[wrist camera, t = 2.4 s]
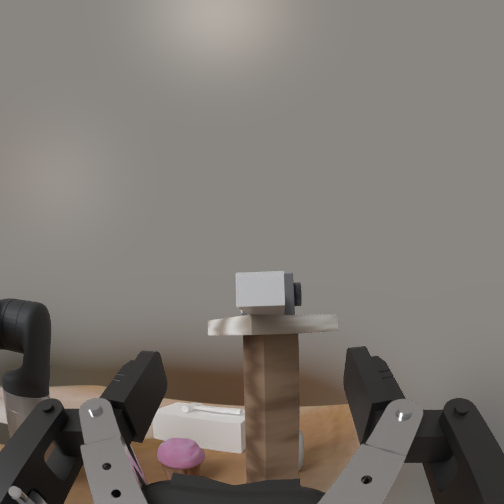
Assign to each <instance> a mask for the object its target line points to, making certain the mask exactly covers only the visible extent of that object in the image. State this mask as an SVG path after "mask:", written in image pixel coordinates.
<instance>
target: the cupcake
mask: <svg viewBox="0 0 504 504" xmlns="http://www.w3.org/2000/svg"><path fill="white" fill-rule="evenodd" d="M157 457H158V461H159V462H161V463H162V466H163V468H164V471H165V473H166V475H167V476H168V478H169V480H171V477H172V474H173V473H179V474H186V475H193V476H199V474H200V464H201V463H202V462H203V461H204V459H205V454H204V451H203V449H201V448H200V447H199V445H198V444H197V443H196V442H195V441H194V440H191V439H188V438H170V439H168V440H166V441H164V442H163V443H162V444H161V445H160V446H159V448H158V451H157Z"/></svg>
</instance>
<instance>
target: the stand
mask: <svg viewBox="0 0 504 504" xmlns="http://www.w3.org/2000/svg"><path fill="white" fill-rule="evenodd" d="M328 331H338V319H337V315H245V316H238V317H232V318H224V319H216V320H208V335H243V346H244V347H243V349H244V393H245V395H244V398H245V439H246V473H247V483H253V482H259V481H264V480H281V479H298V471H299V346H298V345H299V344H298V334H299V333H314V332H328Z"/></svg>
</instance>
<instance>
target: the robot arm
mask: <svg viewBox="0 0 504 504" xmlns="http://www.w3.org/2000/svg"><path fill="white" fill-rule="evenodd" d="M50 343H51V320H50V315H49V312H48V309H47V308H46V306H45V305H43V304H42V303H38V302H32V301H25V300H18V299H3V300H0V349H4V350H10V351H14V352H19V353H23V354H24V357H23V364H22V366H21V367H20V368H19V369H16V370H12V371H7V372H5V373H4V374H3V376H2V383H3V393H4V402H5V409H6V416H7V422H8V428H9V433H10V440H9V441H8V442H7V444H6V445H5V446H4V448H3V449H2V450H1V452H0V504H63V503H64V501H65V499H66V497H67V495H68V493H69V491H70V489H71V487H72V485H73V483H74V481H75V479H76V477H77V475H78V473H79V471H80V469H81V467H82V465H83V463H84V467H85V471H86V475H87V479H88V483H89V487H90V490H91V494H92V497H93V501H94V504H382V502H383V501H384V499H385V497H386V495H387V494H388V492H389V490H390V488H391V486H392V484H393V482H394V481H395V479H396V477H397V475H398V473H399V471H400V469H401V467H402V465H403V463H423V467H424V470H425V473H426V476H427V479H428V482H429V485H430V488H431V492H432V495H433V498H434V502H435V504H504V454H503V452H502V450H501V448H500V446H499V444H498V443H497V441H496V439H495V437H494V436H493V434H492V433H491V431H490V429H489V428H488V426H487V424H486V422H485V421H484V419H483V417H482V416H481V414H480V413H479V411H478V410H477V408H476V406H475V405H474V404H473V403H472V402H471V401H469V400H467V399H462V398H456V399H452V400H450V401H448V402H447V403H446V404H445V406H444V409H443V410H423V409H422V407H421V406H420V405H419V404H418V403H417V402H415V401H413V400H409V399H406V398H405V397H404V395H403V393H402V391H401V389H400V387H399V386H398V384H397V382H396V380H395V378H393V374H392V373H391V371H390V369H389V368H388V366H387V364H386V362H385V361H383V360H382V359H381V358H379V357H378V356H374V357H371V356H370V354H369V352H368V350H367V348H366V347H365V346H362V347H352V348H348V349H347V354H346V363H345V370H344V390H345V393H346V397H347V400H348V403H349V407H350V410H351V414H352V417H353V421H354V424H355V428H356V431H357V435H358V438H359V442H360V445H361V446H360V447H359V448H358V450H357V451H356V453H355V454H354V456H353V457H352V459H351V460H350V462H349V463H348V465H347V466H346V467H345V469H344V470H343V471H342V473H341V474H340V476H339V477H338V478H337V480H336V481H335V482H334V484H333V485H332V486H331V487H330V489H329V490H328V491H327V492H326V493H324V492H321V491H319V490H316V489H312V488H308V487H301V486H300V479H281V480H264V481H259V482H253V483H247V484H241V485H229V484H226V483H222V482H219V481H215V480H212V479H209V478H205V477H202V476H193V475H186V474H179V473H173V474H172V477H171V480H166V481H159V482H155V483H151V484H148V482H147V480H146V478H145V476H144V474H143V472H142V469H141V467H140V465H139V463H138V460H137V458H136V456H135V453H134V451H133V449H132V447H131V445H130V444H131V442H132V441H134V442H139V443H142V442H143V440H144V438H145V435H146V433H147V431H148V429H149V427H150V425H151V423H152V421H153V418H154V416H155V414H156V412H157V410H158V408H159V406H160V404H161V402H162V399H163V397H164V395H165V393H166V390H167V378H166V375H165V371H164V367H163V364H162V359H161V356H160V353H159V352H153V351H141V352H140V353H139V355H138V356H137V358H136V359H135V360H134V361H133V360H131V361H130V362H128V363H127V364H125V365H124V366H123V367H122V368H121V369H120V371H119V372H118V375H116V376H115V378H114V380H112V381H111V383H110V384H109V386H108V387H107V388H106V390H105V391H104V392H103V394H102V395H101V396H100V398H93V399H90V400H87V401H86V402H84V403H83V404H82V405H81V407H80V409H64V407H63V405H62V403H61V402H60V401H59V400H57V399H52V398H51V399H50V396H49V379H50Z"/></svg>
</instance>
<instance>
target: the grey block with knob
mask: <svg viewBox="0 0 504 504" xmlns="http://www.w3.org/2000/svg"><path fill="white" fill-rule="evenodd" d="M294 306H301V284H300V283H293V274H284V271H274V272H250V273H249V272H248V273H236V307H237V308H239V309H240V310H241V313H242V314H243V315H242V316H245V315H295V311H294V310H295V309H294Z"/></svg>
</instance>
